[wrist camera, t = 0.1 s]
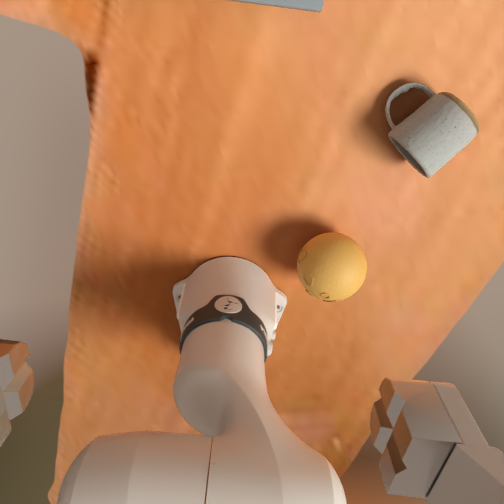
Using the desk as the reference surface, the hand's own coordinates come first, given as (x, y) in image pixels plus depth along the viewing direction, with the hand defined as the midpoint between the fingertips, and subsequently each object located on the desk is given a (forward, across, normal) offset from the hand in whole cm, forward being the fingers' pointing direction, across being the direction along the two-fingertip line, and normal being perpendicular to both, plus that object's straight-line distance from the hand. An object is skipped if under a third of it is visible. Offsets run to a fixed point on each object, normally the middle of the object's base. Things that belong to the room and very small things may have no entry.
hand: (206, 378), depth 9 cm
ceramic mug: (+48, +22, -1) cm, 53 cm away
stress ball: (+48, +14, -21) cm, 54 cm away
